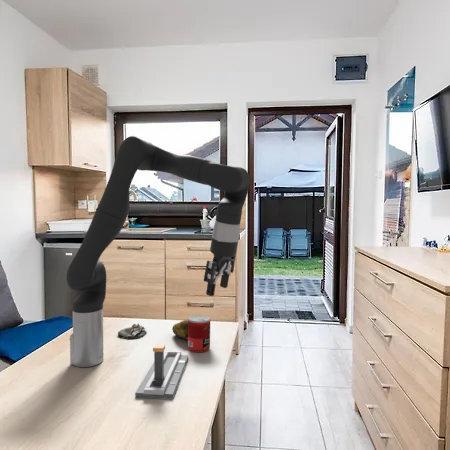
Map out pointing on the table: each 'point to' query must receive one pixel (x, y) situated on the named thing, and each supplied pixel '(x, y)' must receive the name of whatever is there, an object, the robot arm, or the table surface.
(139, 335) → the grey rough oval piece
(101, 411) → the table surface
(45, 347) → the table surface
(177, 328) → the potato
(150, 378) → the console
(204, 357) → the table surface
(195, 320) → the canned food
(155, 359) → the fader tab
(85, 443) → the table surface
